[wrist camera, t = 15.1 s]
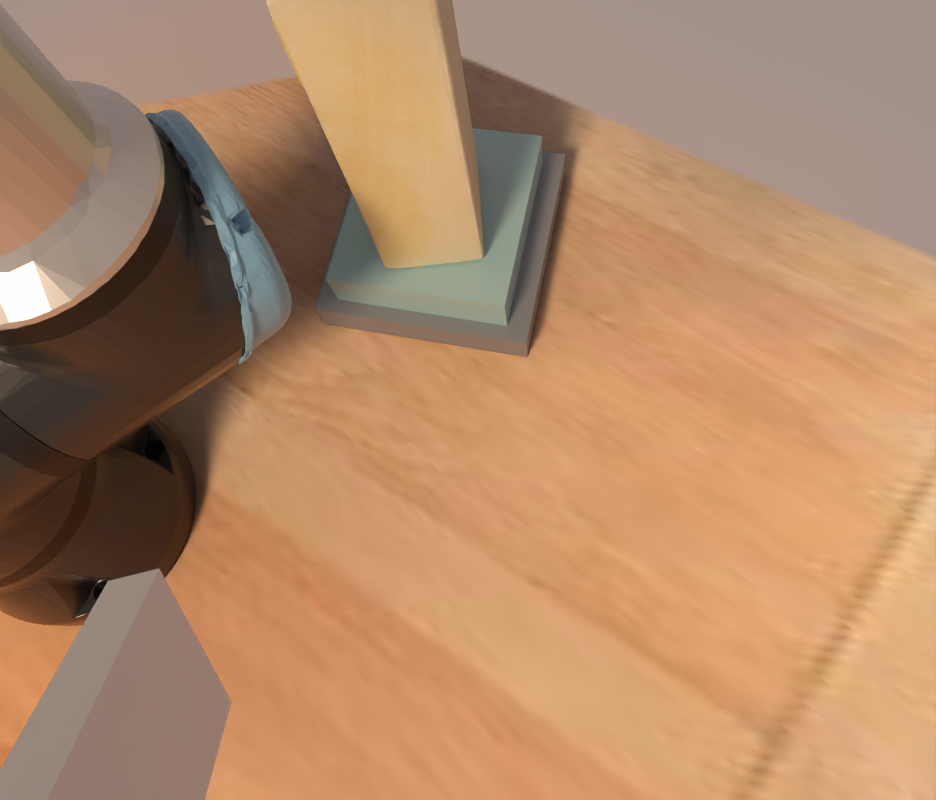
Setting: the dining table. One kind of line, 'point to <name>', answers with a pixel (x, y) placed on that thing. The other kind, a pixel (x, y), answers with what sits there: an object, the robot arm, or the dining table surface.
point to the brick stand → (461, 283)
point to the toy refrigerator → (393, 119)
